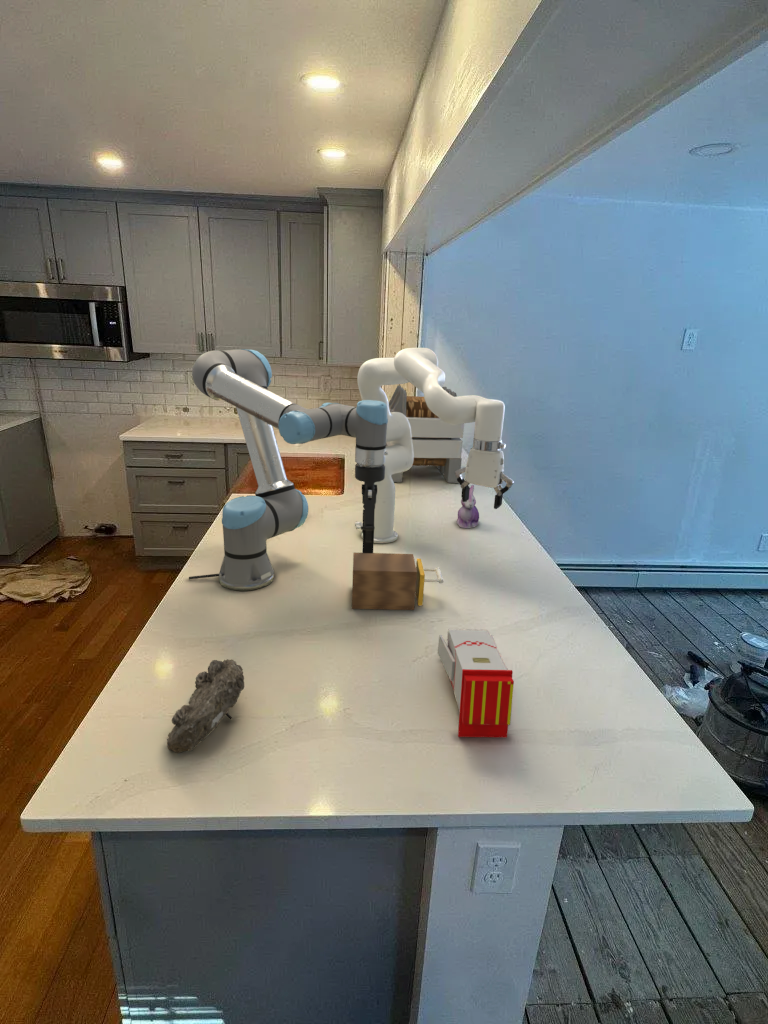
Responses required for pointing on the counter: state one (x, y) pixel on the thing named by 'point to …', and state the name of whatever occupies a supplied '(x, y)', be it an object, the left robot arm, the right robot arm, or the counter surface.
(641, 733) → the counter surface
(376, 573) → the cabinet
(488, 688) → the toy
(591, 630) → the counter surface
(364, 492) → the left robot arm
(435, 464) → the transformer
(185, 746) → the fossil
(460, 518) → the figurine
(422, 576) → the drawer
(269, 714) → the counter surface
